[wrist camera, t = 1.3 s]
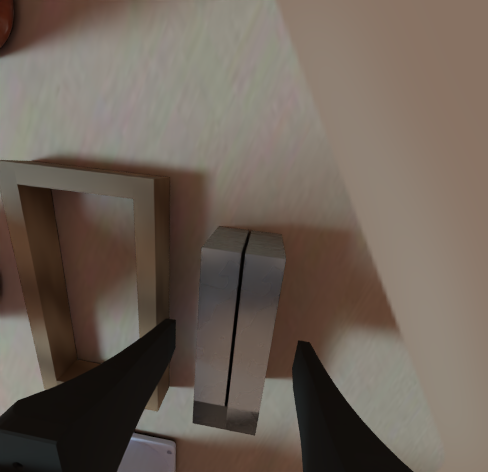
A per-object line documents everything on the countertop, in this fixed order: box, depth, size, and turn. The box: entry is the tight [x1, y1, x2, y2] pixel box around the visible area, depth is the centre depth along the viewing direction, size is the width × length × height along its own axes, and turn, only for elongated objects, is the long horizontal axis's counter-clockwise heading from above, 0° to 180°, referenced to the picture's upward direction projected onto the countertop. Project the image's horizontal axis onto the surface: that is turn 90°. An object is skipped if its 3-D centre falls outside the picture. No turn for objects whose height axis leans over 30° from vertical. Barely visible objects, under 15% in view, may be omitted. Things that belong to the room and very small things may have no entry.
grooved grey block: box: [193, 226, 286, 435], centre depth 14 cm, size 12×4×4 cm, turn 174°
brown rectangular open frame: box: [0, 160, 170, 411], centre depth 16 cm, size 17×9×2 cm, turn 174°
